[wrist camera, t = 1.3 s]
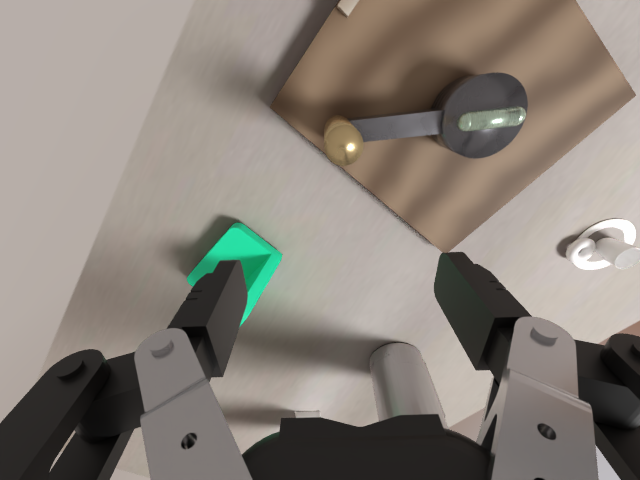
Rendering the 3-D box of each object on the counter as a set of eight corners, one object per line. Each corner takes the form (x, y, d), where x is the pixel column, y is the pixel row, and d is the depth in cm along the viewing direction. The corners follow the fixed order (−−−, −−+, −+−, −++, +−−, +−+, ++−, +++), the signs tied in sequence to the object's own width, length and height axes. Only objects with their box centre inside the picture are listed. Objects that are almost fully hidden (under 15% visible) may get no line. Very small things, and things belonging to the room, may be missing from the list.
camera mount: (239, 216, 37) (211, 256, 28) (283, 250, 39) (271, 298, 30) (192, 270, 41) (154, 320, 32) (234, 298, 43) (210, 352, 34)
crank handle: (505, 71, 27) (606, 58, 17) (492, 146, 30) (570, 171, 20) (320, 93, 28) (319, 93, 18) (327, 163, 31) (328, 194, 21)
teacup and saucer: (550, 256, 39) (573, 272, 36) (594, 207, 36) (625, 219, 32) (599, 274, 41) (625, 292, 37) (646, 228, 37) (680, 243, 34)
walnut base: (617, 95, 29) (644, 95, 27) (439, 247, 38) (447, 257, 36) (447, -161, 21) (463, -194, 19) (272, 106, 30) (268, 107, 28)
